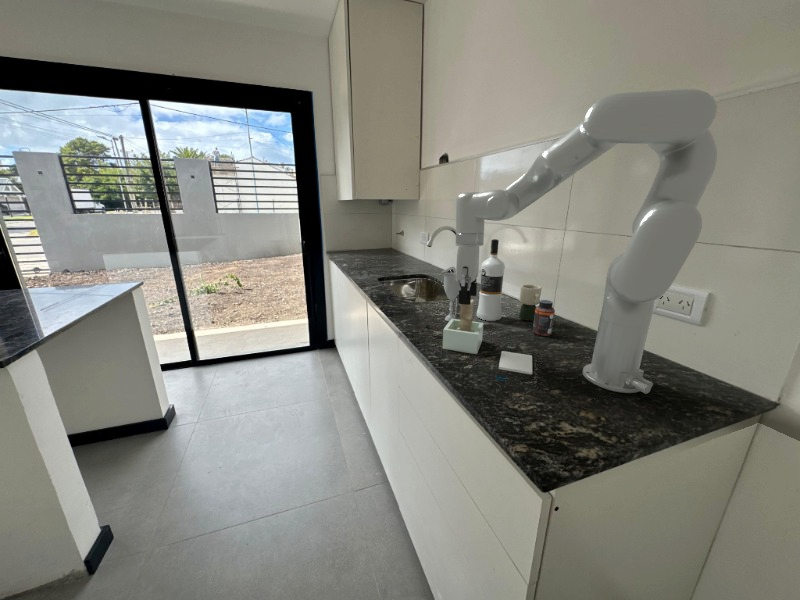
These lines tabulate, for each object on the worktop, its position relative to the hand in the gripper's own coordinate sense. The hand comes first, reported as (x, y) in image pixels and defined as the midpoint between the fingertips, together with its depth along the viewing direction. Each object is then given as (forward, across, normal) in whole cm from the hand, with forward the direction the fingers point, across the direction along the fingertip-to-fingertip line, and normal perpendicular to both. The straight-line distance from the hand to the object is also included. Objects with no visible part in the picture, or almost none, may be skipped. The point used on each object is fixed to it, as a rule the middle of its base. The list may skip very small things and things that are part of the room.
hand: (467, 299), depth 91 cm
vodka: (+16, -31, +3) cm, 35 cm away
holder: (+15, 0, -1) cm, 15 cm away
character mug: (+16, -34, +16) cm, 41 cm away
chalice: (+15, -21, -10) cm, 28 cm away
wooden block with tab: (+14, 0, -1) cm, 14 cm away
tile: (+15, +1, +14) cm, 21 cm away
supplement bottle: (+16, -22, +21) cm, 34 cm away
